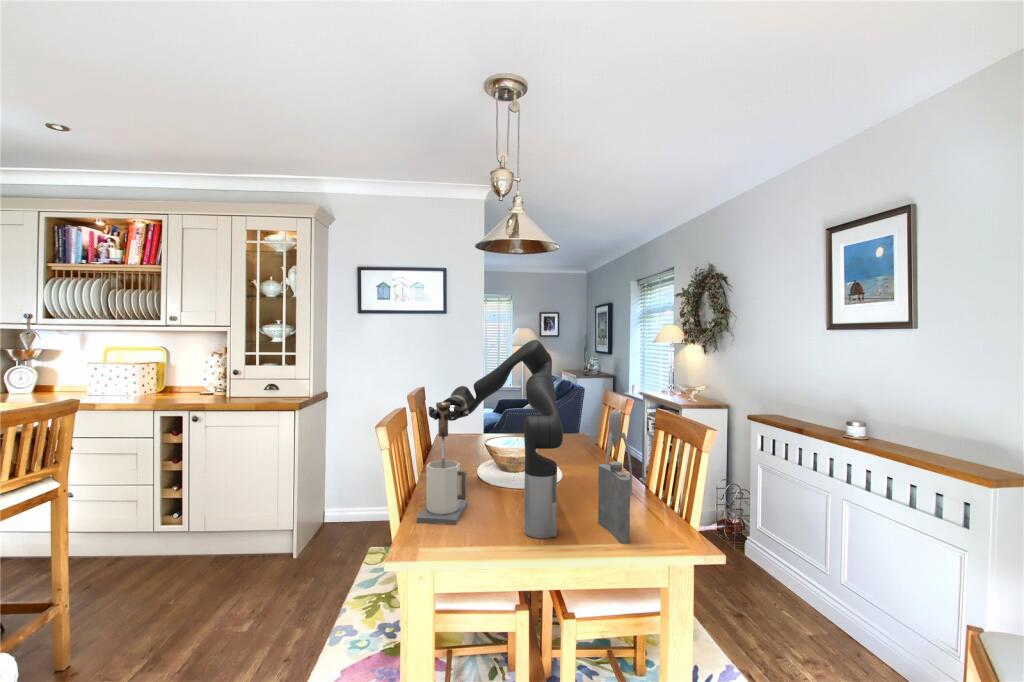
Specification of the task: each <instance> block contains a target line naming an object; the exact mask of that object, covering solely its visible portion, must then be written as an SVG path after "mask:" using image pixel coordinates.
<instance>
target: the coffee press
mask: <svg viewBox="0 0 1024 682" xmlns="http://www.w3.org/2000/svg"><path fill="white" fill-rule="evenodd" d="M425 471H426V472H425V473H426V476H425V477H426V481H425V482H426V485H425V486H426V491H425V492H426V505H425V507H424V508H423V509H422V510H421V512H420V513H419V514H418V515H417V517H416V523H417V522H427V523H426V524H433V523H446V524H445V525H452V524H456V523H457V524H458V522H459V521H460V519H461V517H462V516H463V514H462V513H465V510H466V509H467V508H468V500H467V492H468V491H467V487H468V486H467V485H468V484H467V482H468V481H467V470H461V464H460V462H457V461H455V460H448V459H445V469H442V459H440V460H434V461H433V460H432V461H430V462H428V464H426V470H425ZM460 479H461V481H460ZM460 482H461V483H460ZM460 484H461V488H460ZM460 491H461V493H460ZM465 508H466V509H465ZM461 515H462V516H461ZM459 518H460V519H459ZM458 520H459V521H458ZM457 524H456V525H457Z"/></svg>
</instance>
